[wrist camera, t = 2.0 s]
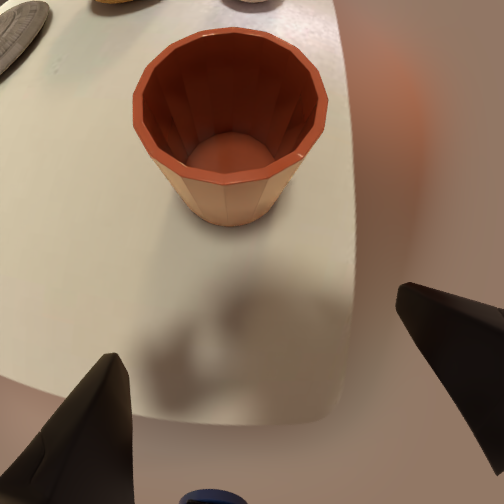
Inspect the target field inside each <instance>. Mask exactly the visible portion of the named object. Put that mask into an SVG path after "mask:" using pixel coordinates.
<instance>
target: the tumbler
mask: <svg viewBox="0 0 504 504" xmlns="http://www.w3.org/2000/svg"><path fill="white" fill-rule="evenodd" d="M327 106H328V97H327V94H326V91H325V88H324V85H323V82H322V79H321V76H320V74H319V71H318V70H317V68H316V67H315V66H314V65H313V64H312V63H311V62H310V61H309V60H308V59H307V57H306V56H305V55H304V54H303V53H302V52H301V51H300V50H299V49H298V48H297V47H295V46H293V45H291V44H290V43H288V42H286V41H284V40H282V39H280V38H278V37H276V36H274V35H272V34H270V33H267V32H263V31H257V30H252V29H246V28H239V27H228V28H219V29H211V30H204V31H200V32H197V33H195V34H192V35H190V36H188V37H186V38H183V39H181V40H179V41H177V42H175V43H172V44H171V45H169V46H168V47H167V48H166V49H165V50H163V51H162V52H161V53H160V54H159V55H158V56H157V57H156V58H155V59H154V60H153V61H152V62H150V63H149V64H148V65H147V67H146V68H145V70H144V72H143V74H142V76H141V78H140V80H139V82H138V84H137V87H136V89H135V91H134V93H133V126H134V129H135V131H136V133H137V134H138V136H139V138H140V140H141V142H142V143H143V145H144V147H145V149H146V150H147V152H148V154H149V155H150V157H151V158H152V159H153V161H154V162H155V163H156V165H157V166H158V167H159V169H160V170H161V171H162V173H163V174H164V175H165V177H166V178H167V179H168V181H169V182H170V183H171V185H172V186H173V187H174V189H175V190H176V191H177V193H178V194H179V195H180V197H181V198H182V199H183V201H184V202H185V203H186V204H187V206H188V207H189V208H190V210H191V211H193V212H194V213H195V214H197V215H198V216H199V217H200V218H202V219H204V220H205V221H207V222H210V223H212V224H215V225H219V226H227V227H233V226H241V225H245V224H248V223H251V222H253V221H255V220H257V219H258V218H260V217H261V216H263V215H264V214H265V213H267V212H268V211H269V210H270V208H271V207H272V205H273V204H274V203H275V201H276V200H277V198H278V197H279V195H280V194H281V193H282V191H283V190H284V188H285V187H286V185H287V184H288V182H289V181H290V179H291V178H292V176H293V175H294V173H295V172H296V171H297V169H298V168H299V166H300V165H301V163H302V162H303V160H304V159H305V157H306V156H307V154H308V153H309V152H310V150H311V149H312V147H313V146H314V144H315V143H316V141H317V140H318V138H319V137H320V136H321V134H322V133H323V130H324V127H325V120H326V113H327Z"/></svg>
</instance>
